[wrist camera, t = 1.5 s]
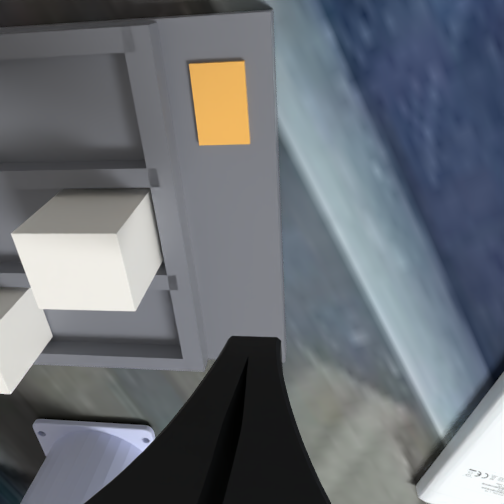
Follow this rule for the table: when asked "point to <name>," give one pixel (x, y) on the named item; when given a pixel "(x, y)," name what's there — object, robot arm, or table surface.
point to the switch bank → (153, 173)
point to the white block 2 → (91, 249)
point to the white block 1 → (20, 335)
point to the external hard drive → (471, 458)
